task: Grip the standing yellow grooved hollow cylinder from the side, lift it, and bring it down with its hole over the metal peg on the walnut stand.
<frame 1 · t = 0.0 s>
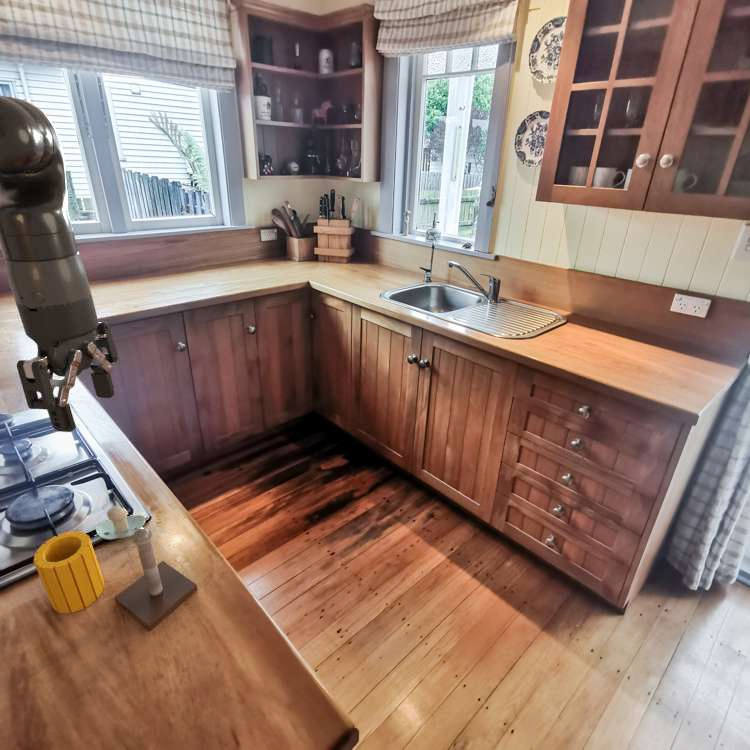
hand: (87, 412, 61), 28 cm above the worktop, tool pointing down, fingers open, 8 cm apart
yellow grooved hollow cylinder: (78, 593, 68), on the worktop
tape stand: (157, 596, 68), on the worktop
pacifier: (125, 531, 80), on the worktop
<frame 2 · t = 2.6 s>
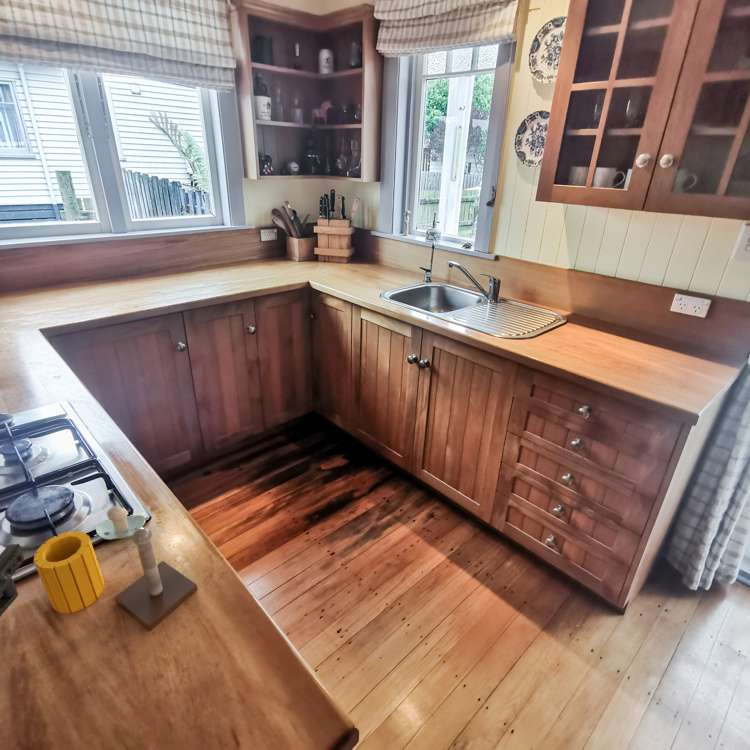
nothing on the worktop moved.
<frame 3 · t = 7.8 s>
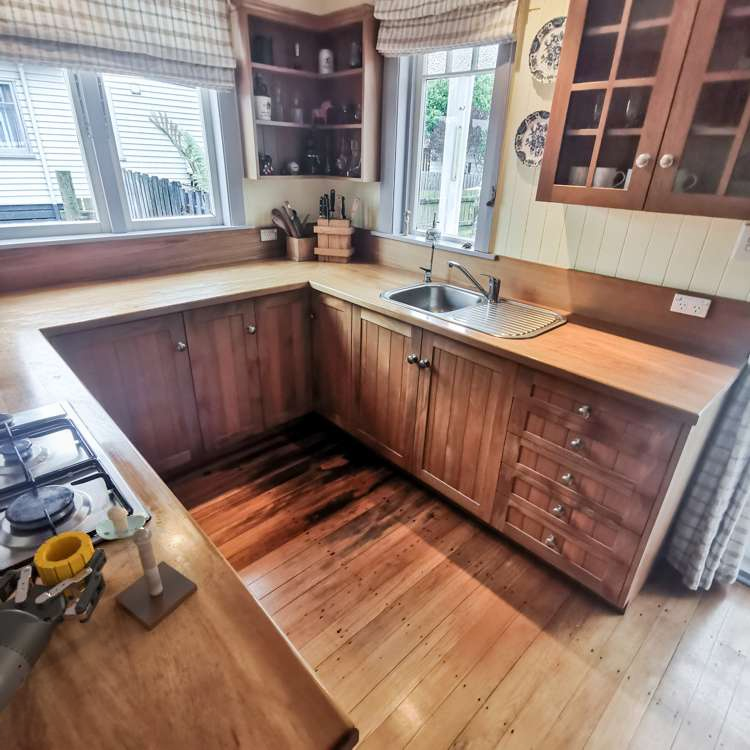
hand: (77, 551, 68), 6 cm above the worktop, tool horizontal, fingers closed on yellow grooved hollow cylinder, 6 cm apart
yellow grooved hollow cylinder: (78, 592, 68), on the worktop, touching gripper
everything else where it was.
when the fingers open (7 cm above the worktop, at t = 16.2 s): yellow grooved hollow cylinder stays where it is, resting on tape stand.
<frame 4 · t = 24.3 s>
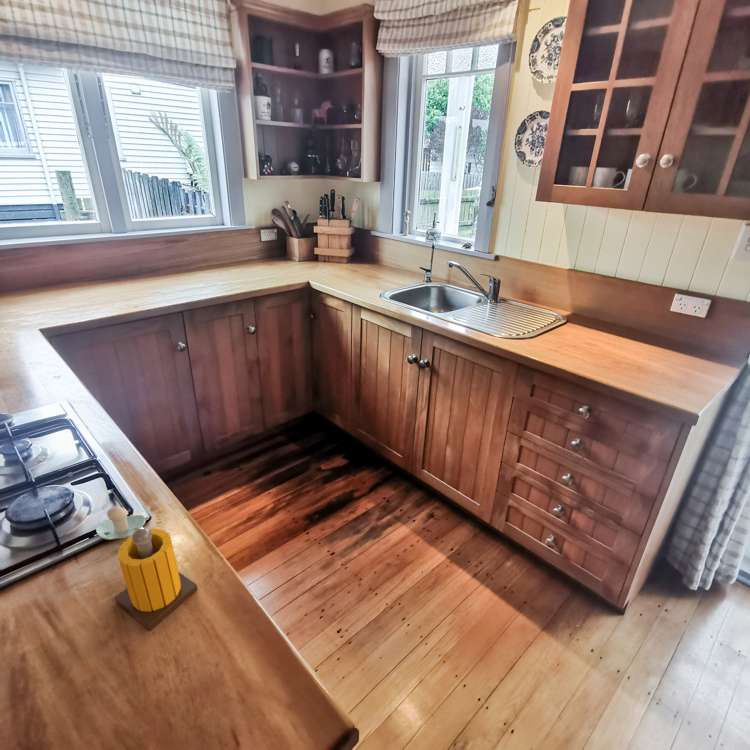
yellow grooved hollow cylinder: (156, 591, 68), point 1 cm above the worktop, touching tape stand
everything else where it was.
at the end: yellow grooved hollow cylinder 0.1 cm off-centre on the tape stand, point 1.2 cm above the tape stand's base; yellow grooved hollow cylinder tilted 0°; the gripper is holding nothing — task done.
